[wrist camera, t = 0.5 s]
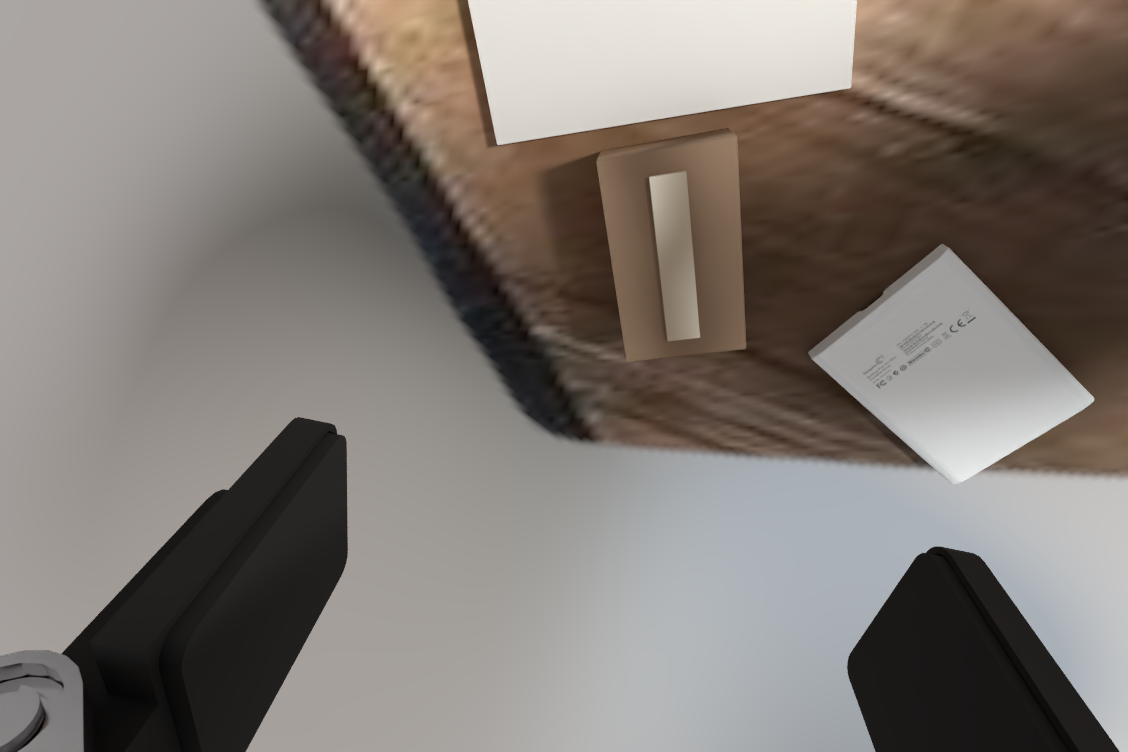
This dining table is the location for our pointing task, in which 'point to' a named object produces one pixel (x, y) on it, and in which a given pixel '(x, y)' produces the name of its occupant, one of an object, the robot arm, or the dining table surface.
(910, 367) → the external hard drive
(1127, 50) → the dining table surface
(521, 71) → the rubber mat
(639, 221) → the slotted tan block
